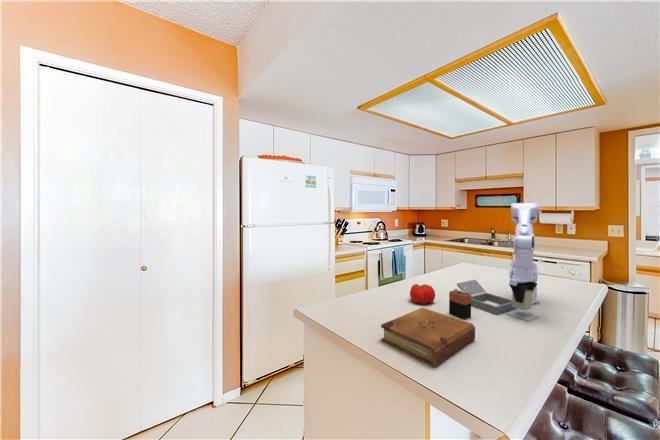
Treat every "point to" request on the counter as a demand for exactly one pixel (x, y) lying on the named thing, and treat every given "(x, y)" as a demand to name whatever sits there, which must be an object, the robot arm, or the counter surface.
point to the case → (485, 298)
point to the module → (526, 301)
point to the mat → (522, 315)
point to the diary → (428, 335)
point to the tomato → (422, 293)
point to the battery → (460, 304)
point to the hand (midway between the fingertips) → (522, 301)
